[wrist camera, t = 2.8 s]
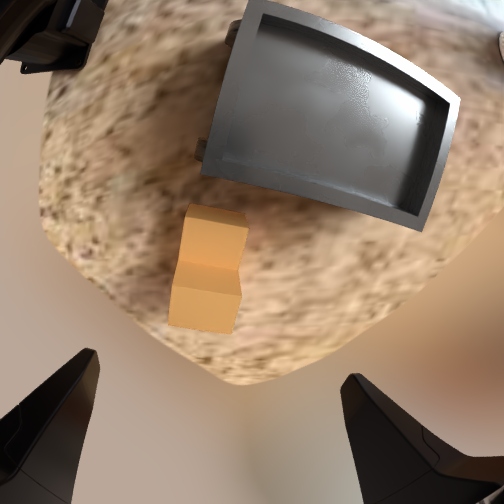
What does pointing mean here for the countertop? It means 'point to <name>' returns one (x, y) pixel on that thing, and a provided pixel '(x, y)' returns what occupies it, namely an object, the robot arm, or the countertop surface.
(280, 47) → the tray
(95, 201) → the countertop surface
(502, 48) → the can
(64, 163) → the countertop surface
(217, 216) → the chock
